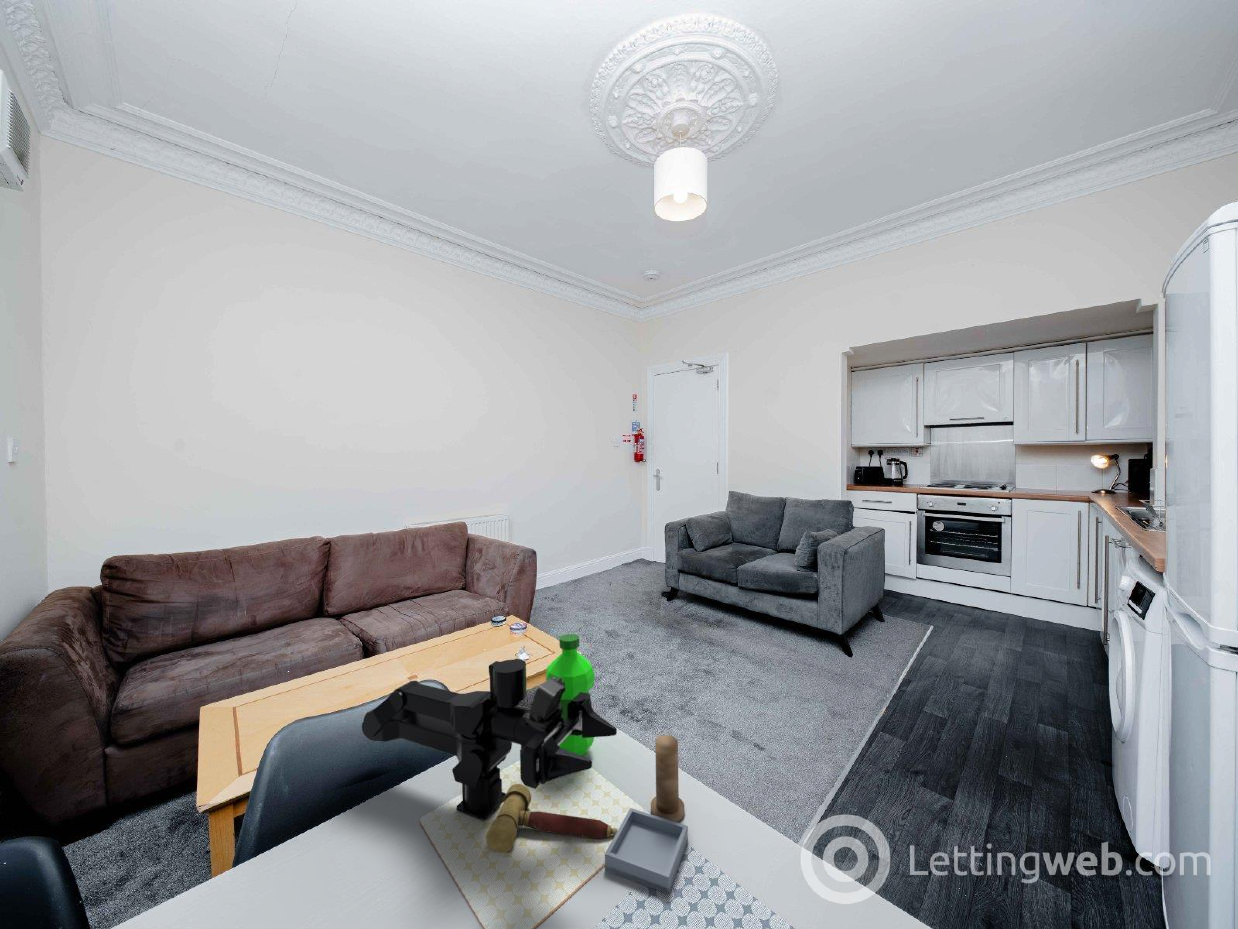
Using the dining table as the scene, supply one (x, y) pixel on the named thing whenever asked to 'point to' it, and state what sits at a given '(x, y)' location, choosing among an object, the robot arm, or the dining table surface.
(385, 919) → the dining table surface
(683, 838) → the box
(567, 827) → the gavel
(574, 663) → the plastic bottle
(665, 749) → the walnut handle
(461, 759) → the robot arm
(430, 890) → the dining table surface
